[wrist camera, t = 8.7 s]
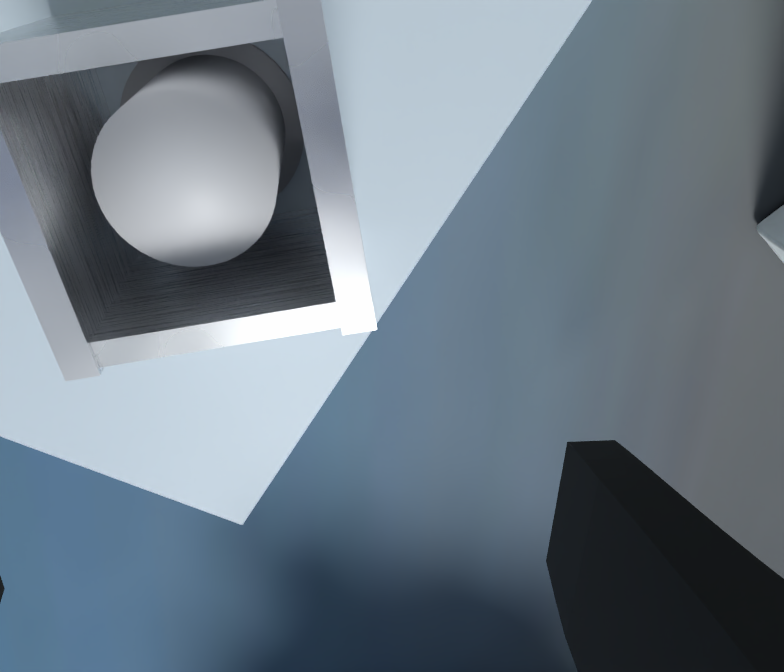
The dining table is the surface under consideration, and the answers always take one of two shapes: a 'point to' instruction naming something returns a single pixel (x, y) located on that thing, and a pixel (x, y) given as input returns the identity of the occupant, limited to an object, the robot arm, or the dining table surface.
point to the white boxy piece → (114, 254)
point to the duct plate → (264, 222)
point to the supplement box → (774, 231)
